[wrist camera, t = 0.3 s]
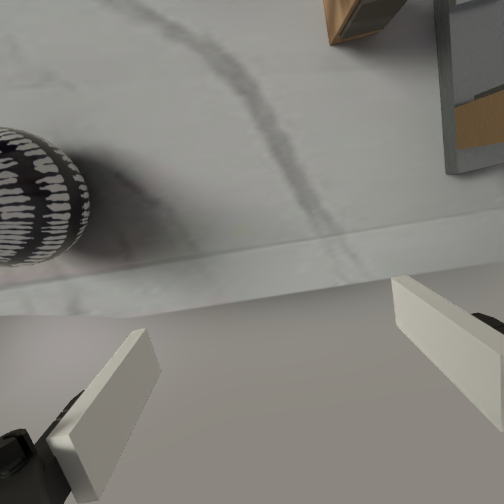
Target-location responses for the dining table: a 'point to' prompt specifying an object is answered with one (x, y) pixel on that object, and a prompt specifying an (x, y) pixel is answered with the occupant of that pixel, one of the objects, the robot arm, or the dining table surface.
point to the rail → (471, 82)
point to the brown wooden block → (358, 17)
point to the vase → (38, 200)
